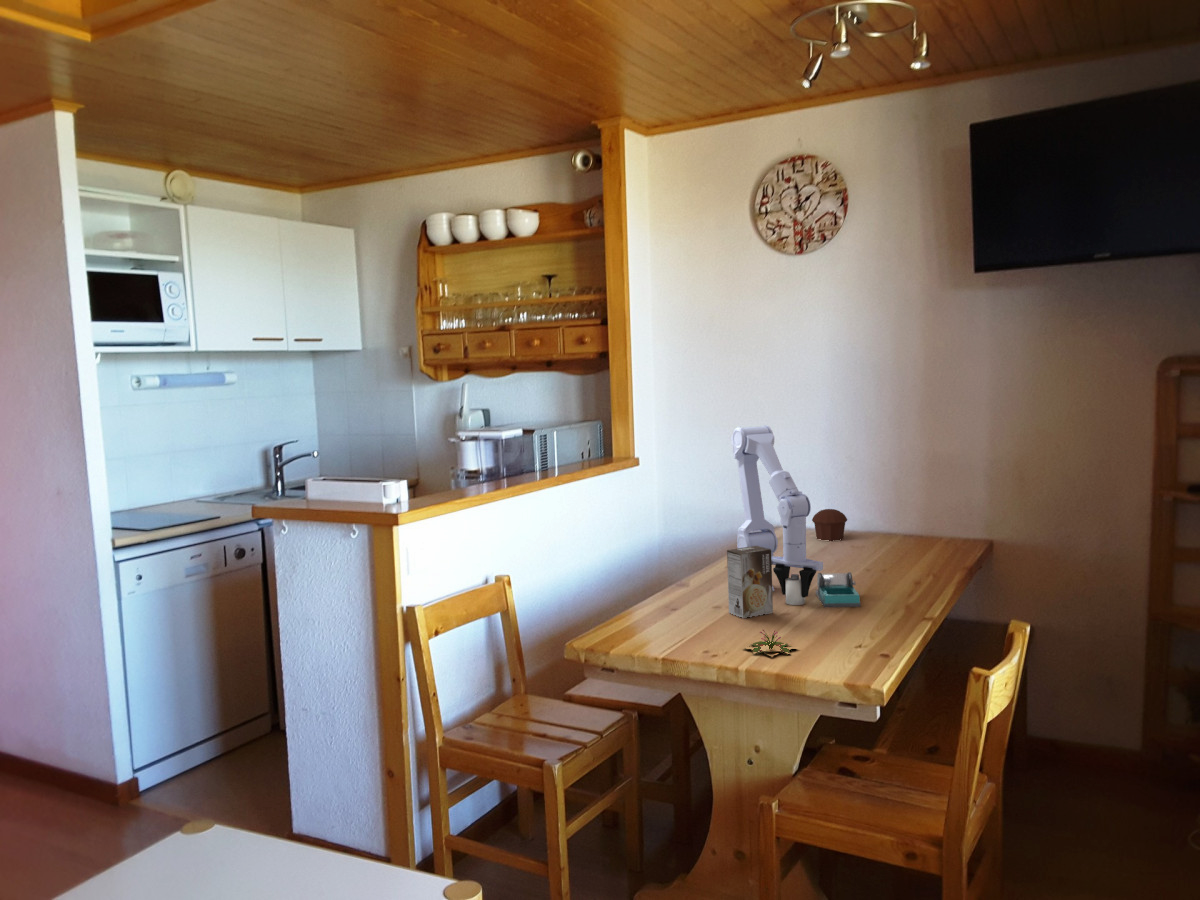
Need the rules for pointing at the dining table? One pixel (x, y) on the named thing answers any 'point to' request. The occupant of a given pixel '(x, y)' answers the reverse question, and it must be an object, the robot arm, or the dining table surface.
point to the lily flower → (770, 644)
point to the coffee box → (750, 581)
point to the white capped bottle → (794, 590)
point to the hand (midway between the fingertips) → (795, 595)
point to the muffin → (829, 524)
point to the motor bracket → (837, 590)
